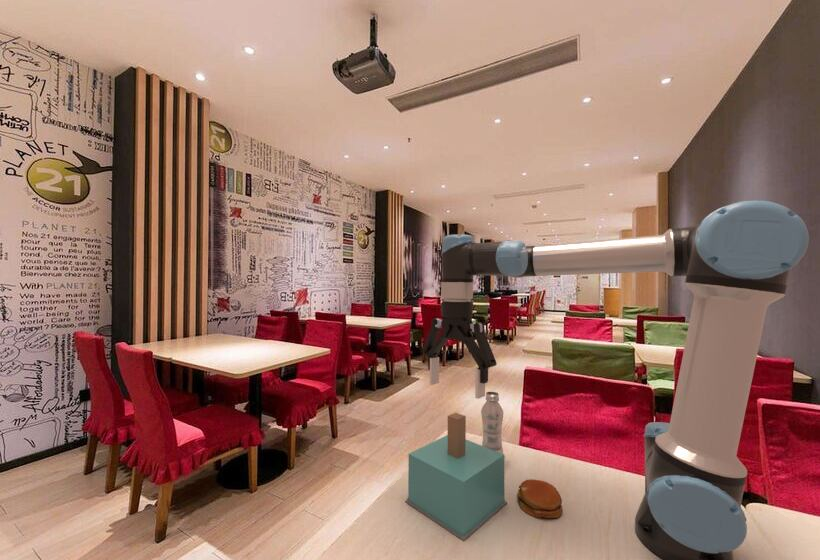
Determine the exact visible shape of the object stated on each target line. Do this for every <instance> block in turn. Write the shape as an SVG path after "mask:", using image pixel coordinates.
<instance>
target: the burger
mask: <svg viewBox="0 0 820 560" xmlns="http://www.w3.org/2000/svg"><path fill="white" fill-rule="evenodd" d="M518 488H519V489H518V491H517V494H516V497H517V500H518V505H519V507H520V509H521V510H522V511H523V512H524V513H525V514H527V515H528V516H532V517H534V518H541V519H542V518H546V519H556V518H560V517H561V515H562V513H563V506H562V502H563V500H562V496H561V494H560V492H559V491H558V489H557V488H556V487H555V486H554V485H552V484H551V483H549V482H547V481H544V480H541V479H540V480H539V479H533V478H529V479H526V480H524V481H522V482H521V483H520V485H519V486H518Z"/></svg>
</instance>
